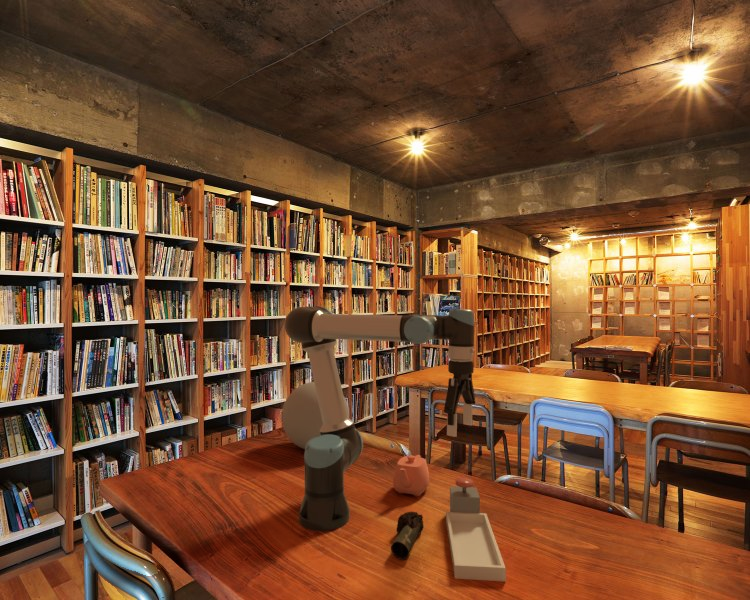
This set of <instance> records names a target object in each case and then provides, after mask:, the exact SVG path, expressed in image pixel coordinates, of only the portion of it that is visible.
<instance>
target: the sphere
mask: <svg viewBox="0 0 750 600" xmlns="http://www.w3.org/2000/svg"><path fill="white" fill-rule="evenodd" d="M288 395H289V396H288V397H287V399H286V400H285V401H284V405H283V407H282V412H281V422H282V427H283V430H284V433H285V434H286V436H287V438H288V439H289V440H290V441H291V442H292V443H293V444H294V445H295V446H297V447H299V448H301V449H303V450H305V446H306V444H307V442H308V441H309V440H310V439H312V438H314V437H316V436H317V437H319V436H320V429H321V427H322V425H323V421H322V417H321V412H320V407H319V402H318V398H317V393H316V388H315V384H314V381H310V382H306V383H304V384H301V385H299V386H298V387H297V388H296V387H295V389H294V390H292V392H291V393H290V394H288ZM344 401H345V405H346V410H347V415H348V418H349V419H350V407H349V405H348V401H347V399H346V397H345V396H344Z"/></svg>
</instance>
